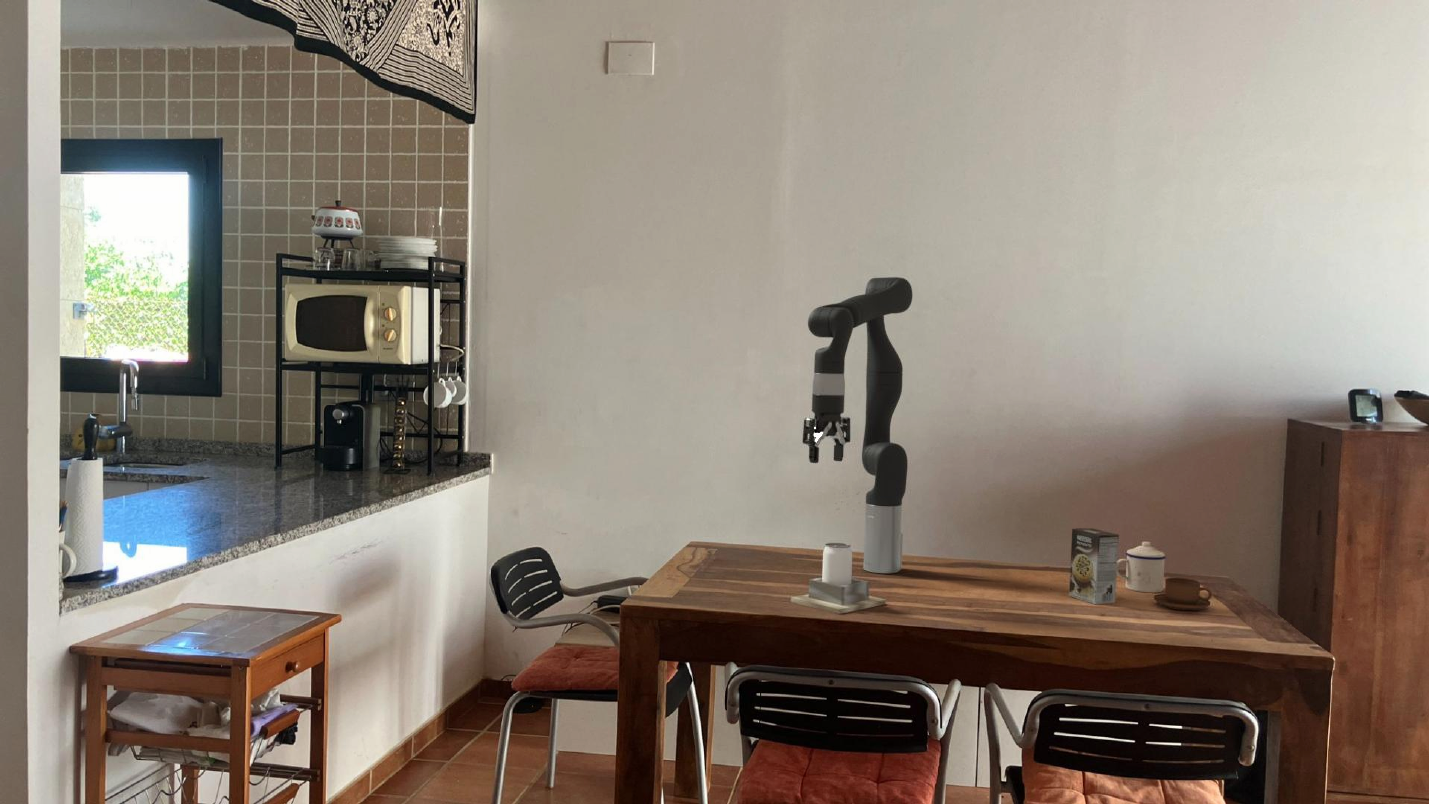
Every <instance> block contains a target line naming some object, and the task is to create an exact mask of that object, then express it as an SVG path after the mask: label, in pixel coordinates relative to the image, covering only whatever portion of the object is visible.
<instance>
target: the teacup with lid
mask: <svg viewBox="0 0 1429 804" xmlns="http://www.w3.org/2000/svg"><path fill="white" fill-rule="evenodd" d="M1125 555H1126V558H1120V559H1118V561H1117V577H1119V578H1120V579H1121V580H1125V588H1126V589H1128V590H1130V591H1133V592H1138V593H1139V592H1140V593H1151V594H1153V593H1154V594H1155V593H1156V594H1157V593H1161V592H1164V580H1165V559H1166V557H1167V556H1166V554H1165V552H1163V551H1160V550H1158V549H1157V548H1156V547H1153V546H1151V542H1150V541H1142V542H1141V545H1138V546H1136V547H1134V548H1130V549H1127V551H1126V553H1125ZM1121 563H1126V569H1125V572H1126V573H1125V575H1122V574H1121V573H1120V572H1119V565H1120V564H1121Z"/></svg>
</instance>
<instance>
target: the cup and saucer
mask: <svg viewBox="0 0 1429 804" xmlns="http://www.w3.org/2000/svg"><path fill="white" fill-rule="evenodd" d="M1164 580H1165V582H1164V583H1165V586H1164V593H1159V594H1154V596H1153V599H1154V602H1156V603H1157V604H1158V605H1160V606H1163V607H1166V608H1169V609H1174V610H1180V611H1199V610H1201V611H1202V610H1204V609H1207V608H1208V607H1210V606H1211V601H1210V600H1211V599H1212V595H1213V594H1212V591H1211V590H1210V588H1208V587H1204V586H1201V582H1200V581H1198V580H1195V579H1190V578H1182V577H1168V578H1165V579H1164ZM1201 591H1206V592H1207V593H1208V596H1207V597H1202V596H1201V595H1200V592H1201Z"/></svg>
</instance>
